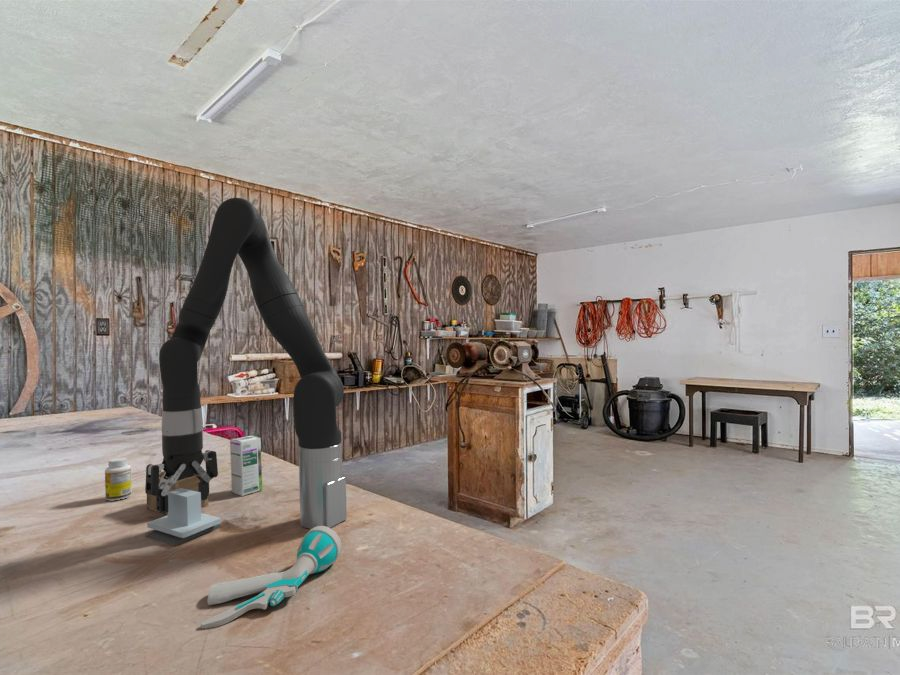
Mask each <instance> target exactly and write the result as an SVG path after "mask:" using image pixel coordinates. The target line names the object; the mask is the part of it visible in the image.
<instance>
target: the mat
mask: <svg viewBox="0 0 900 675" xmlns="http://www.w3.org/2000/svg"><path fill="white" fill-rule="evenodd" d="M221 527H222V523H219V524H217V525H214V526H212V527H210V528H208V529H206V530H203V531H201V532H198V533H196V534H194V535H191V536H189V537H185V538H180V537H177V536H174V535H171V534H167V533H164V532H161V531H158V530H155V529H154V530H152V531H150V532H146V537H148V538H150V539H153V540H157V541H160V542H163V543H166V544H169V545H171V546H178V545H181V544H183V543H185V542H187V541H190V540H193V539H195V538H197V537H200V536H203V535H205V534H208V533H210V532H212V531H214V530H217V529H219V528H221Z"/></svg>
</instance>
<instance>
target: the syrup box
mask: <svg viewBox="0 0 900 675" xmlns="http://www.w3.org/2000/svg"><path fill="white" fill-rule="evenodd" d="M261 439H262V438H261V437H259V436H256V435H247V436H243V437H238V438H232V439H231V438H230V440H229V454H230V476H231V478H230V479H231V480H230V481H231V483H230V484H231V493H233V494H236V496H237V495H238V496H240V497H244V496H247V495H249V494H250V495H251V494H253V493H257V491H258V492H261V491H262V490H263V476H262V474H263V472H262V471H263V469H262V441H261ZM260 490H261V491H260Z"/></svg>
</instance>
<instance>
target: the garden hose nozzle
mask: <svg viewBox="0 0 900 675" xmlns="http://www.w3.org/2000/svg"><path fill="white" fill-rule="evenodd" d="M342 548H343V547H342V541H341V538H340V536H339V535H338V533H337V532H336V531H335V530H334V529H332V527H331V528H329V527H326V526H316V527H314V528H312V529H309V531H308V532H306V533H305V535H304V536H303V539H301V541H300V544H299V546H298V549H297V552H296V561H295V563H293V565H292V566H291V567H290V568H289V569H287V570H285V571H282V572H270V573H267V574H263V575H262V574H261V575H257V576H253V577H249V578H238V579H236V580H233V581H232V580H231V581H223V582H222V581H221V582H219V583H215V584H212V585H211V586H210V588H209V590H208V594H207V605H208V606H214V605H218V604H223V603H226V602H230V601H232V600H235V599H239V598H242V597H246V596H250V595H253V594H257V593H259V594H258V595H256V596H254V597H251V598H250V599H248V600H245V601H243V602H241V603H238V604H237V605H235V606H233V607H231V608H228V609H226V610H225V611H222V612H221V613H219V614H216V615H213V616H211V617H209V618H207V619H205V620H204V621H202V622H200V628H202V630H203V628H205V629H209V628H210V629H211V628H216V627H220V626H224V625H227V624H228V623H230V622H232V621H233V620H235V619H237V618H239V617H240V616H242V615H243V614H245V613H247V612H248V611H250V610H254V609H255V610H256V609H260V610H267V608H268V605H270V606H271V607H275V606H277V605H278V604H280V603H281V602H282V601H283V600H284V599H285V598H288V597H292V596H294V595H296V592H298V591H299V590H298V588H299V586H300V585H301V584H302V583H303V582H304V581H305V580H306V579H307V577H308V576H309V575H312V574H318V573H321V572H323V571H325V570H326V569H328V568H329V567H330V566H332V565H333V564H334V563H335V562H336V561H337V560H338V558H339V557H340V555H341V553H342Z"/></svg>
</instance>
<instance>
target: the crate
mask: <svg viewBox="0 0 900 675" xmlns="http://www.w3.org/2000/svg"><path fill="white" fill-rule="evenodd" d="M164 473H165V471H164V470H163V471H161V474H159V483H160V479H161V478H162V476H163V475H164ZM170 478H171V477H169V479H170ZM169 479H168V480H169ZM199 482H200V481H199V480H198V478H197V477H196V476H192V477H186V478H184V479H181V480H177V481H176V483H175V484H174V485H173V486H172V487H171V488H170V490H169V491H168V492H170V491H173V490H176V489H179V488H183V489H187V490H192V491H196V492H198V483H199ZM207 505H208V506H209V497H208V498H207V499H206V500H201V509H202V508H204V507H207ZM147 508H150V509H153V510H152V511H154V510H156V511H155V512H157V509H156V496H153V495H149V494H146V509H147ZM150 509H149V510H150ZM164 515H168V513H165V514H164Z"/></svg>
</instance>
